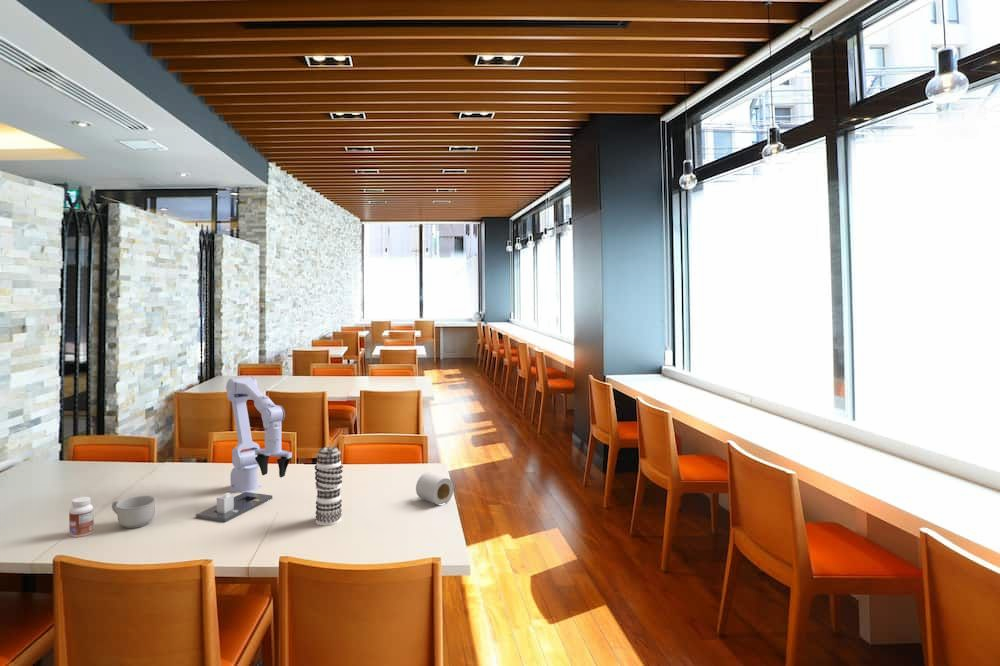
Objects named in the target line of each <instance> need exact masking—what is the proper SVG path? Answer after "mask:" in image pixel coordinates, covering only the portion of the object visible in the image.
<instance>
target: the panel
mask: <svg viewBox="0 0 1000 666" xmlns="http://www.w3.org/2000/svg"><path fill="white" fill-rule="evenodd" d="M270 499H271V500H273V495H271V494H264V493H257V492H256V493H255V492H251V493H250V492H244V493H242V492H241V493H239V494H237V495H236V496H234V509H233V510H231V511H229V512H226V513H224V514H223V513H217V504H216V505H213V506H211V507H209V508H207V509H205V510H202V511H200V512H198V513H196V514H195V518H196V519H201V520H206V521H214V522H220V523H227V522H229V521H231V520H234V519H235V518H237V517H240V516H242V515H243V514H245V513H247V512H249V511H251V510H253V509H255V508H257V507H259V506H260V505H263V504H265V503H267V502H269V501H271V500H270ZM268 500H269V501H268Z"/></svg>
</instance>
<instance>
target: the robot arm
mask: <svg viewBox="0 0 1000 666" xmlns="http://www.w3.org/2000/svg"><path fill="white" fill-rule="evenodd" d="M225 390H226V395H227V396H226V397H227V401H229V402H231V405H232V411H233V412H232V413H233V417H234V424H235V430H236V431H235V432H236V436H237V441H238V443H237V444H236V445H235V447H234V448H233V449H232V451H231V454H232V457H231V461H232V462H231V463H232V465H233V468H232V469H231V471H230V488H229V489H228V491H229V492H237V493H241V494H242V493H244V492H250V493H254V492H255V491H257V489H258V490H260V489H261V487H262V488H263V485H258V467H259V469H260V473H261V476H265V475H267V474H268V468H269V467H268V466H269V465H268V464H269V459H270V457H276V458H277V459H276V462H277V464H278V475H279V476H278V477H279V478H284V477H285V475H286V472H287V468H288V467H289V464H290V462H291V460H292V458H293V452H292V451H287V450H285V449H284V450H283V449H282V444H283V443H282V440H283V439H282V424H283V423H282V422H283V421H284V420H285V417H286V413H285V409H284V407H283V406H282V405H278V404H277V405H276V404H275V402H273V401H272V399H271V398H270V397H269V396H268V395H264V394H262V392H261V391H260V388H259V387H258V381H257V379H256V378H255V377H254V376H249V377H238V378H229V379H228V381H227V382H226V385H225ZM249 399H251V400H252V401H253V405H254V407H255V408H256V410H257V411H258V412H259V413H260V415H261V419H262V425H263V428H264V448H261V447H260V444H258V443H257V442H255V441H253V438H252V431H251V425H250V417H249V413H248V405H247V401H248V400H249ZM259 488H260V489H259Z"/></svg>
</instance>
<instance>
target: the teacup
mask: <svg viewBox="0 0 1000 666" xmlns="http://www.w3.org/2000/svg"><path fill="white" fill-rule="evenodd" d="M111 510H112V511H113V512H114V513H115V514H116V515H117V521H118V524H119V525H121V526H123V527H124V528H127V529H136V528H140V527H141V528H142V527H143V526H146V525H147V524H149V523H150V522H151V521H152V520H153V519H154V517H155V513H156V498H155V496H152V495H142V494H141V495H134V496H131V497H128V498H124V499H122V500H120V499H116V500H114V501H112V504H111Z"/></svg>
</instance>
